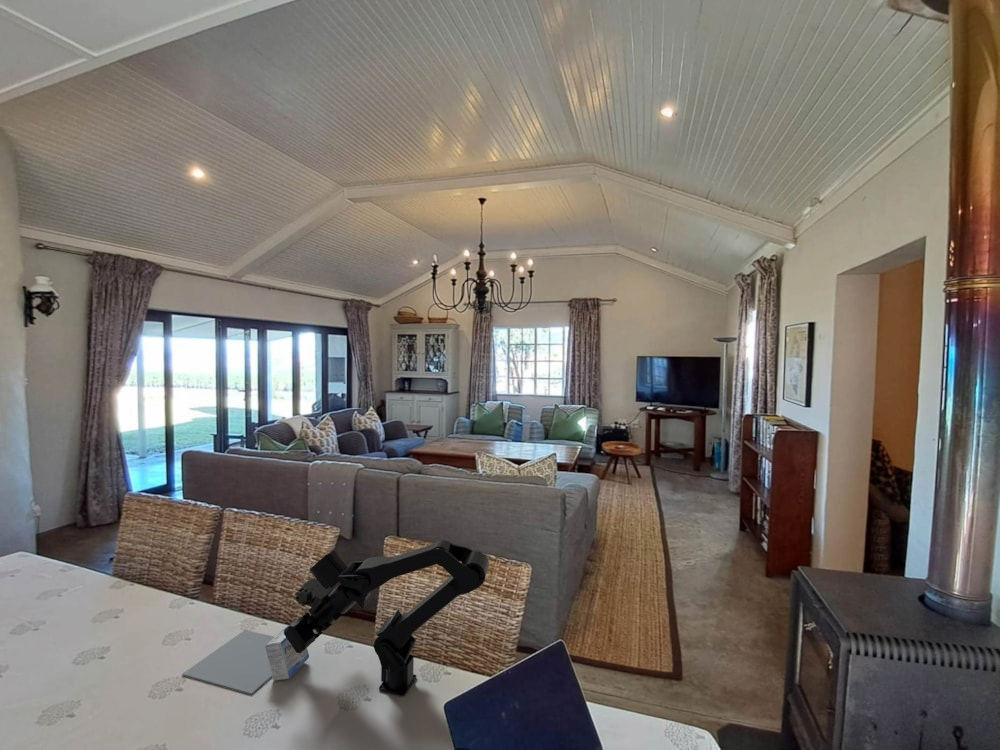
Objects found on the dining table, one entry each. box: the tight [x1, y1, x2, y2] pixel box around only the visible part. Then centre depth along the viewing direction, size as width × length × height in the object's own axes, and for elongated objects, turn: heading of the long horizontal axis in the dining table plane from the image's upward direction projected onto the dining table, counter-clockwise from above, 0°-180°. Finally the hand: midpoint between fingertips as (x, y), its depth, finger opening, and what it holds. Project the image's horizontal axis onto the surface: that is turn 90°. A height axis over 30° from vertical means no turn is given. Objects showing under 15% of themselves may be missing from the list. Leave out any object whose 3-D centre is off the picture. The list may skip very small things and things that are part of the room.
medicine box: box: [265, 625, 310, 681], centre depth 108 cm, size 8×4×9 cm, turn 168°
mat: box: [181, 629, 275, 696], centre depth 111 cm, size 20×18×1 cm
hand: (299, 636), depth 109 cm, fingers closed
